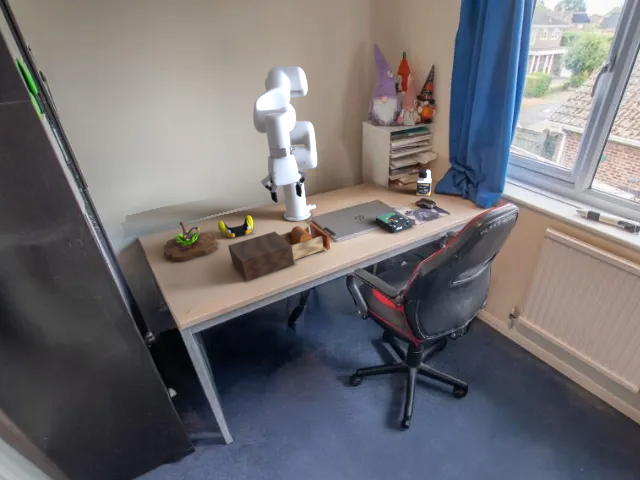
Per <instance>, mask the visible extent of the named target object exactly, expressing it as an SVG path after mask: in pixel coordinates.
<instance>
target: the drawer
mask: <svg viewBox="0 0 640 480" xmlns="http://www.w3.org/2000/svg"><path fill="white" fill-rule="evenodd" d="M302 228H303V229H304V230H305V231H307V232H308V233H309V234H310V235H311V236H312V239H310V240H307V241H304V242H301V243H298V244H295V245H293V244H292V237H291V231H292V230H290V231H287V232H284V233H280V234H279V235H280V236H281V237H282V238H283V239H284V240H286V241H287V242H288V243H289V244H290V245H291V246H292V252H293V258H294V261H296V260H297V259H301V258H303V257H306V256H310V255H313V254H316V253H318V252H322V251H324V249H325V250H327V251H330V250H331V243H330V242H331V241H330V237H331V236H332V237H335V236H336V232H334V231H333V230H332V229H330V228H329V227H327V226H325V227H324V228H320V227H318V226H317V225H315V224H314V223H309V226H308V225H307V226H303V227H302ZM328 233H329V234H328Z"/></svg>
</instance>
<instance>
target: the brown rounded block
mask: <svg viewBox="0 0 640 480" xmlns="http://www.w3.org/2000/svg"><path fill="white" fill-rule="evenodd" d="M303 228H304V227H301V226H300V225H295V226H294V227H292V229H291V230H290V231H291V237H292V244H293V245H295V244H298V243H301V242H304V241H307V240H310V239H312V236H311V233H310V232H309V233H308V232H307V231H305V230H304V229H303Z"/></svg>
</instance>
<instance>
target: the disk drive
mask: <svg viewBox="0 0 640 480" xmlns="http://www.w3.org/2000/svg"><path fill="white" fill-rule="evenodd" d="M375 216H376V217H375V218H374V219H375V222H376V223H377V224H378V225H380V226H382V227H383V228H385V229H387V230H388V231H389V232H391V233H395V234H396V233H399V232H402V231H405V230H409V229H411V228H413V224H414V223H413V221H412V220H409V219H407V218H406V217H404V216H402V215H400V214H399V213H397V212H395V211H390V212H387V213H384V214H381V215H375Z"/></svg>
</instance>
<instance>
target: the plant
mask: <svg viewBox="0 0 640 480" xmlns="http://www.w3.org/2000/svg"><path fill="white" fill-rule="evenodd" d="M179 225H180V226H181V229H182V232H179V235H178V234H177V235H173V238H171V239H167V240H166V242H165V244H164V249H165V250H164V251H163V255H164V257H166V259H167V260H169V261H170V260H171V261H173V262H175V263H181V262H182V263H183V262H186V261H189V260H191V259H194V258H198V257H201V256H207V255H208V254H211V253H212V252H214V251H215V250H218V249H217V246H216V245H217V240H216V239H215V238H214V237H213V236H212V235H211V234H209V233H208V232H199V231H200V230H201V228H200V227H198V226H194V227H191V228H190V229H189V230H186V228H185V225H184V221H180V222H179ZM193 230H196V231H197V232H194V231H193Z"/></svg>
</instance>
